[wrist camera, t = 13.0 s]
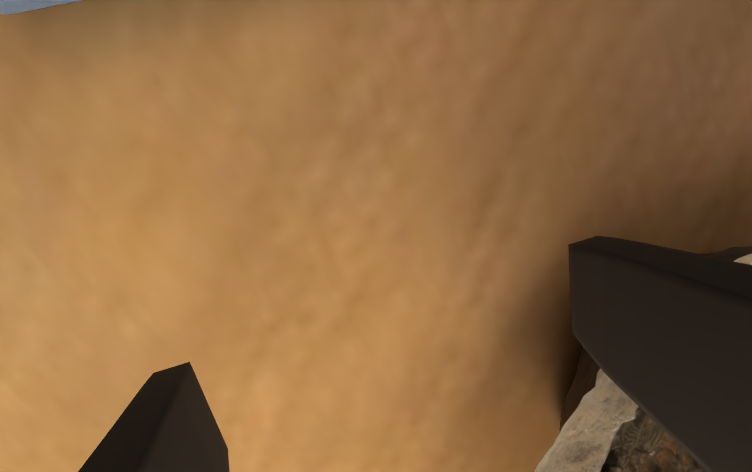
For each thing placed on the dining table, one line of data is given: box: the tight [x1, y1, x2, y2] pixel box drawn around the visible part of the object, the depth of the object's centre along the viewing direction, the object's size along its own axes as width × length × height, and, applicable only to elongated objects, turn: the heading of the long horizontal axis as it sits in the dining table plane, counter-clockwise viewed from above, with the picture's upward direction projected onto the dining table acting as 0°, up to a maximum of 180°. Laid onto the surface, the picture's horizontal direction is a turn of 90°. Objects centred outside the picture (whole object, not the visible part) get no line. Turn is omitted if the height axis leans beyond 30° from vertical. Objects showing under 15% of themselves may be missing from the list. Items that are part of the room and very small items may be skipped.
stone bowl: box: [534, 246, 752, 472], centre depth 24 cm, size 25×25×9 cm
